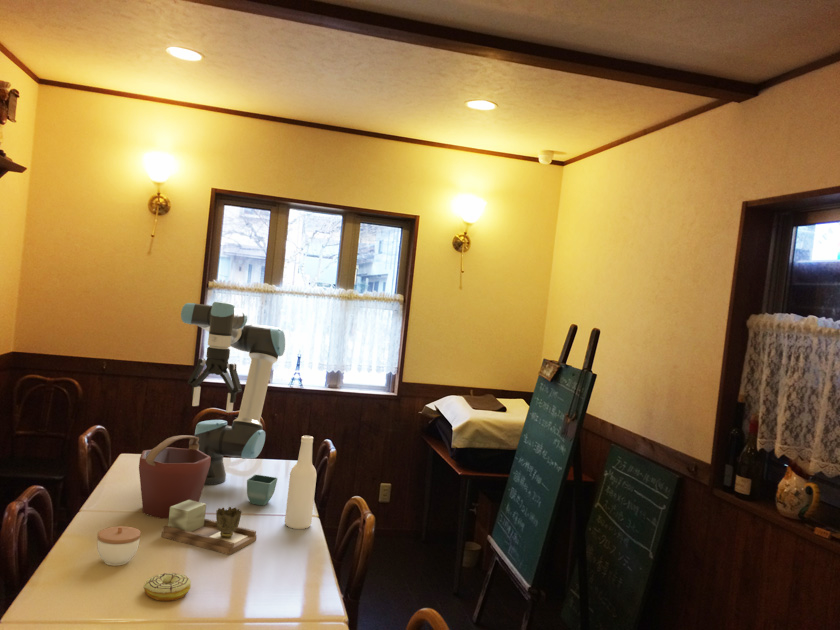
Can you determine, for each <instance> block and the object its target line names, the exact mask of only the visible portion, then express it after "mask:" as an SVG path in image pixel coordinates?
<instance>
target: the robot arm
mask: <svg viewBox="0 0 840 630" xmlns="http://www.w3.org/2000/svg"><path fill="white" fill-rule="evenodd" d="M211 304H212V305H210V304H203V303H201V304H200V303H195V302H192V303H191V302H187V303H184V304H183V306H182V308H181V312H180V319H181V321H182V323H184V324H188V325H190V326H191V325H195V326H196V327H197V326H198V327H199V328H201V329H203V330H205V331H207V332H208V339H207V345H208V347H206V355H205V356H206V359H205V358H199V359H198V360H197V364H196V366H195V368H194V370H193V371H192V373H191V375H190V377H189V379H188V380H187V385H190V386H191V397H192V402H191V403H192V405H191V406H192V407H199V406H200V397H201V388H202V387H201V384H202V383H203V382H204V381H205V379H207V377H209V376H210V375H215V376H219V377H221V378H222V380H223V382H224V383H225V385H226V387H227V389H228V391H229V392H228V393H227V399H226V407H225V408H226V409H225V410H226V411H225V413H228V414H229V413H232V412H233V411H234V403H236V400H237V394H238V393H242V391H243V388H242V384H241V381H240V378H239V375H238V371H237V363H229V360H230V355H231V349H230V348H233V349H236V350H238V351H242V352H247V353H248V357H249V358H250V360H251V361H250V365H249V369H248V373H247V378H246V381H245V382H246V383H245V386H244V391H243V394H242V397H241V398H242V399H241V403H240V407H239V412H238V416H237V418H235V419H234V420H233V421H232V424H231V425H228V421H227V420H224V419H210V420H209V419H208V420H204V421H199V422H198V423H197V424H196V426H195V430H194V435H193V436H195V437H199V441H198V444H199V451H201V452H203V453H205V454H207V455H208V456H210V457H211V461H210V467H209V471H208V474H207V477H206V480H205V483H204V485H216V484H221V483H224V482H225V481H226V477H227V473H226V469H225V464H224V457H225V456H227V457H233V458H239V459H240V458H241V459H249V460H254V459H256V458H257V457H258V456H259V455H260V454H261V452H262V450H263V447H264V445H265V441H266V431H265V430H263V424H262V422H261V417H262V413H263V409H264V404H265V400H266V395H267V390H268V385H269V382H270V377H271V372H272V368H273V364H275V363H277V361H278V358H279V357H282V356H284V353H285V350H286V336H285V332H284V330H283V329H282V328H280V327H276V326H273V325H271V326H270V325H263V324H254V323H253V324H252V323H247V322H248V315H247V313H246V311H245V310H244V309H242V308H240V307H235V303H234V304H233V303H231V302H227V301H226V302H224V301H214V302H213V303H211ZM205 366H206V367H205ZM204 368H205V369H204ZM203 369H204V370H203ZM202 371H203V372H202Z"/></svg>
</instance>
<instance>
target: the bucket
mask: <svg viewBox="0 0 840 630" xmlns="http://www.w3.org/2000/svg"><path fill="white" fill-rule="evenodd" d="M184 439H189V441H188V448H182V447H181V448H180V447H170V445H172V444H173V443H175V442H176V441H180V440H184ZM198 441H199V437H195V435H186V434H185V435H184V434H183V435H182V434H181V435H174V436H171V437H168V438H166V439H164V440H162V442H160V443H159V444H157V445H156V446H155V447H154V448H152V449H145V450H142V452H141V455H140V457H139V464H138V472H139V481H140V484H139V485H140V494H141V504H142V513H145V514H144V515H146V514H148V516H150V515H151V516H150V517H154V518H157V517H158V519H169V512H170V507H171V506H174V505H176V504H179V503H182V502H184V501H187V500H192V501H197V502H200V498H201V495H202V493H203V489H204V486H205V484H204V483H205V480H206V477H207V474H208V471H209V467H210V461H211V457H210V456H208V455H207V454H205V453H203V452H201V451H199V444H198Z"/></svg>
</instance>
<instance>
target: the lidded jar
mask: <svg viewBox="0 0 840 630" xmlns="http://www.w3.org/2000/svg"><path fill="white" fill-rule="evenodd" d="M141 535H142V532H141V531H140V529H138V528H135V527H132V526H123V525H120V526H119V525H118V526H117V525H116V526H110V527H106V528H103V529H102V530H100V531H98V532H97V543H96V546H97V547H96V548H97V553H98V556H99V558H100V559H101V560H102V561H103V563H104V564H105V565H107V566H114V567H115V566H123V565H126V564H128V563H129V562H130V560H131V559H132V558H133V557H134V556H136V553H137V552H138V548H139V545H140V539H141Z"/></svg>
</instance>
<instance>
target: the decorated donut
mask: <svg viewBox="0 0 840 630" xmlns="http://www.w3.org/2000/svg"><path fill="white" fill-rule="evenodd" d="M191 582H192V580H191V579H190V577H188V576H187V575H185V574H180V573H176V572H166V573H165V572H164V573H160V574H156V575H153V576H151V577H150V578H147V579H146V581H145V582H144V584H143V589H144V593H145V594H146V595H147V596H148V598H151V599H153V600H156V601H163V602H165V601H166V602H167V601H169V602H171V601H176V600H179V599H182V598H183V597H185V595H186V594H188V593H189V591H190V589H191Z"/></svg>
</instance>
